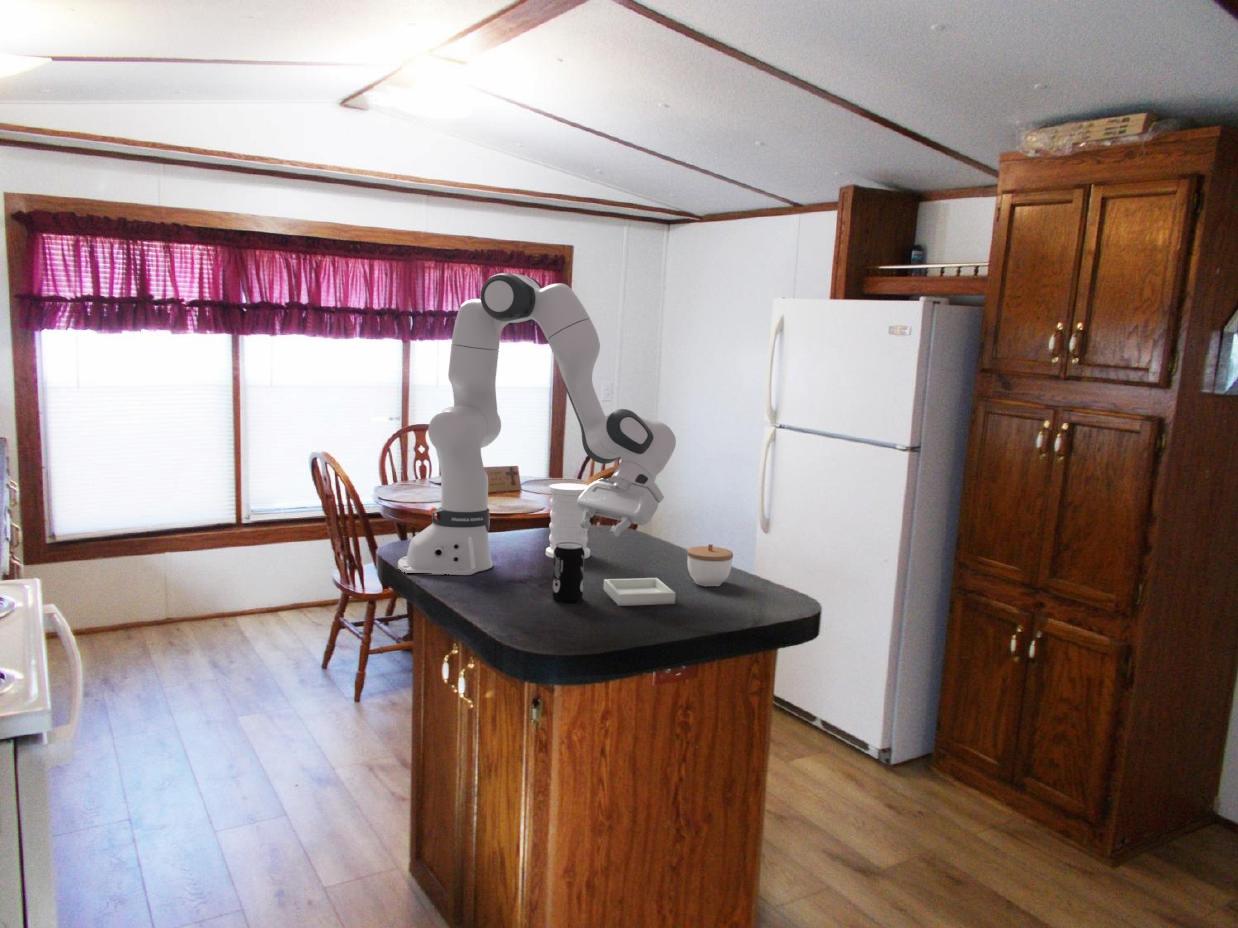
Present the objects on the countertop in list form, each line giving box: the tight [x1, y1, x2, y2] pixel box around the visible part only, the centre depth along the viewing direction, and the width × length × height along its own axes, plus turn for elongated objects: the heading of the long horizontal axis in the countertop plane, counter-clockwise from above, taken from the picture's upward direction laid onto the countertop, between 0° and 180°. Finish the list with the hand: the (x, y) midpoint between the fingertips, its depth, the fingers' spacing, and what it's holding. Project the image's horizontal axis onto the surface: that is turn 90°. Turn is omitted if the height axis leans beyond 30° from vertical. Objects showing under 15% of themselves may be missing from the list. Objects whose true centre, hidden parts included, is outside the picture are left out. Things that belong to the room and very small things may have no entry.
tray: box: [602, 577, 676, 607], centre depth 201 cm, size 13×13×2 cm
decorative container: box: [545, 482, 591, 560], centre depth 236 cm, size 12×12×18 cm
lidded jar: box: [686, 543, 734, 587], centre depth 214 cm, size 11×11×9 cm
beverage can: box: [551, 542, 585, 604], centre depth 196 cm, size 7×7×12 cm
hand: (597, 530), depth 201 cm, fingers open, 8 cm apart
